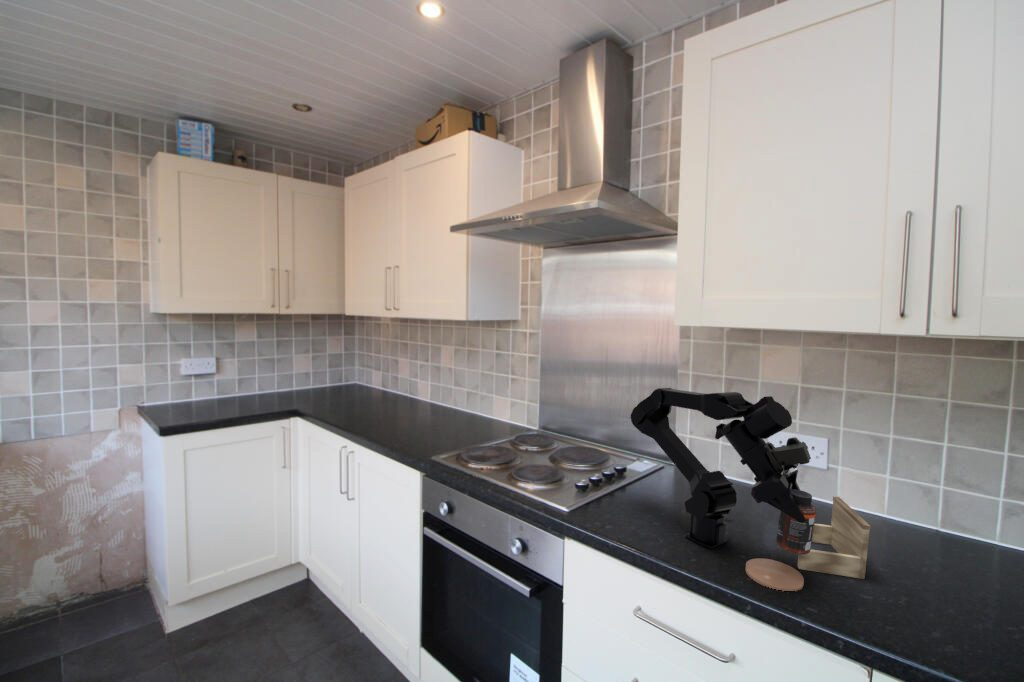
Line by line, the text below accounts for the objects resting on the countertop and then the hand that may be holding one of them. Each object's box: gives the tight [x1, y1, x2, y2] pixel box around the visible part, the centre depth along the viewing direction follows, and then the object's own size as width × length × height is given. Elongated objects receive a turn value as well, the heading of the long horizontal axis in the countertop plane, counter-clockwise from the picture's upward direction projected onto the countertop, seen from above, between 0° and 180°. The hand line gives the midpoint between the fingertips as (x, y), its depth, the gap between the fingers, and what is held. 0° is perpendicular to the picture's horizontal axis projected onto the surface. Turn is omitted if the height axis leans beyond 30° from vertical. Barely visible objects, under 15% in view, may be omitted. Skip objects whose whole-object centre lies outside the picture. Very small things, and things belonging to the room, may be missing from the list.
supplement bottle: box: [775, 489, 817, 555], centre depth 95 cm, size 6×6×11 cm
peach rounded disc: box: [745, 557, 805, 592], centre depth 95 cm, size 10×10×1 cm
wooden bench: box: [797, 496, 872, 580], centre depth 104 cm, size 12×15×11 cm
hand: (805, 516), depth 94 cm, fingers closed on supplement bottle, 6 cm apart
